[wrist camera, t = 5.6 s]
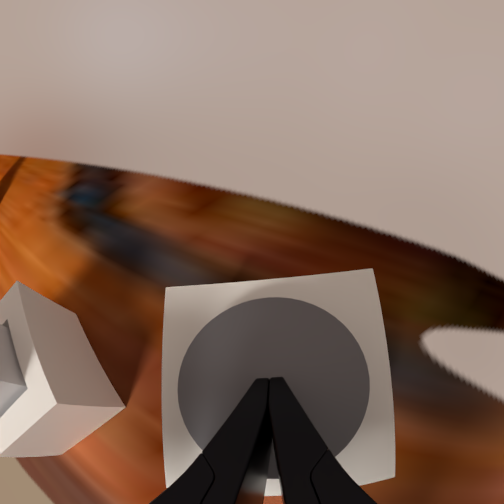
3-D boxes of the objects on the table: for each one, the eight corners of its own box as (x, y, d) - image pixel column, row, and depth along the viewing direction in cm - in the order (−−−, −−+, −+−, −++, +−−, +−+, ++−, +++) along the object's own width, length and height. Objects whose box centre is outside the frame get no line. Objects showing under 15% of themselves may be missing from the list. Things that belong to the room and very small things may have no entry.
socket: (357, 447, 13) (395, 476, 7) (211, 457, 14) (166, 487, 8) (345, 313, 17) (372, 268, 11) (208, 324, 18) (165, 287, 12)
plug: (337, 433, 13) (373, 465, 6) (229, 440, 14) (180, 474, 7) (329, 333, 17) (356, 288, 10) (225, 341, 17) (179, 303, 10)
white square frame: (125, 407, 16) (57, 403, 10) (61, 454, 14) (-3, 456, 8) (75, 313, 20) (17, 280, 14) (22, 368, 18) (-34, 349, 12)
